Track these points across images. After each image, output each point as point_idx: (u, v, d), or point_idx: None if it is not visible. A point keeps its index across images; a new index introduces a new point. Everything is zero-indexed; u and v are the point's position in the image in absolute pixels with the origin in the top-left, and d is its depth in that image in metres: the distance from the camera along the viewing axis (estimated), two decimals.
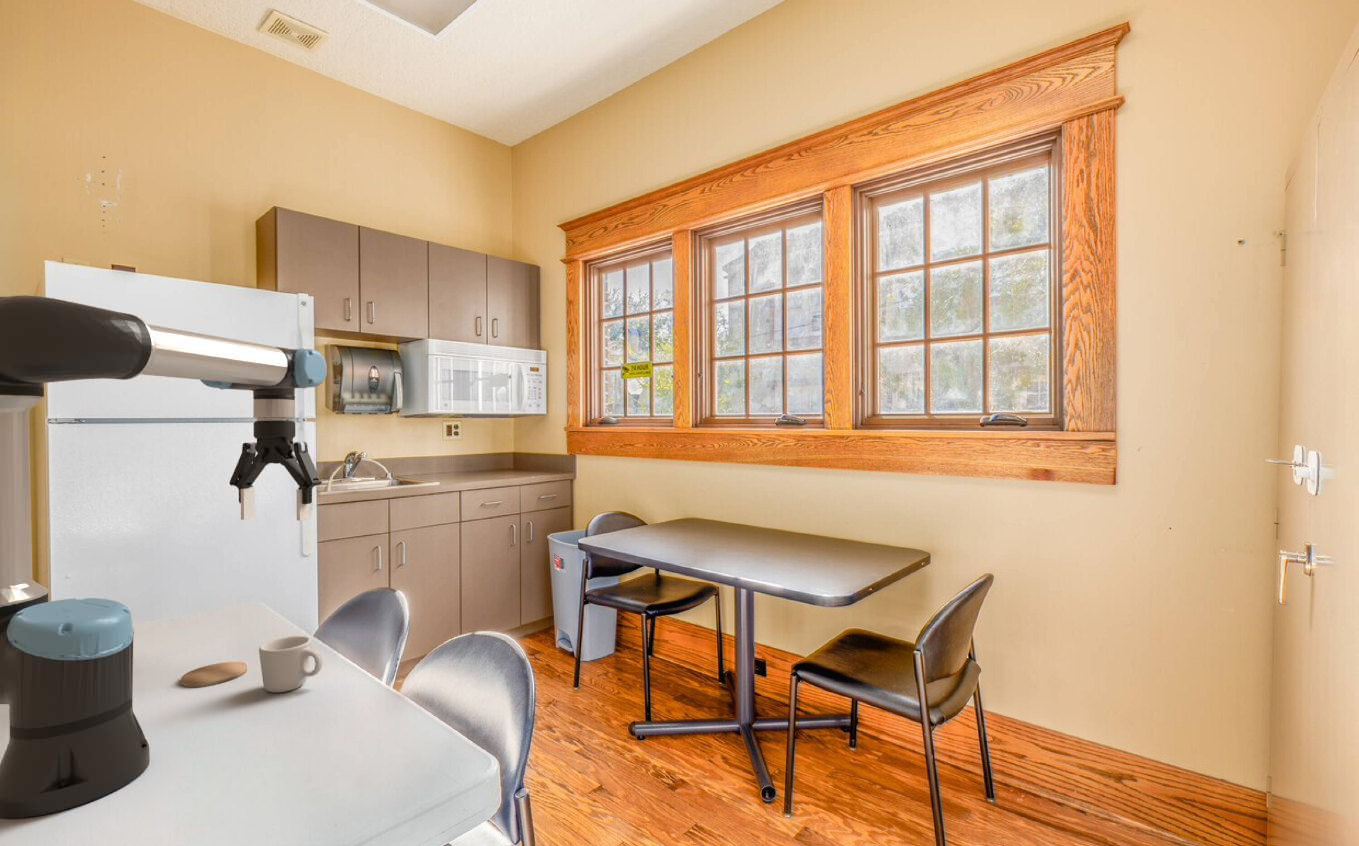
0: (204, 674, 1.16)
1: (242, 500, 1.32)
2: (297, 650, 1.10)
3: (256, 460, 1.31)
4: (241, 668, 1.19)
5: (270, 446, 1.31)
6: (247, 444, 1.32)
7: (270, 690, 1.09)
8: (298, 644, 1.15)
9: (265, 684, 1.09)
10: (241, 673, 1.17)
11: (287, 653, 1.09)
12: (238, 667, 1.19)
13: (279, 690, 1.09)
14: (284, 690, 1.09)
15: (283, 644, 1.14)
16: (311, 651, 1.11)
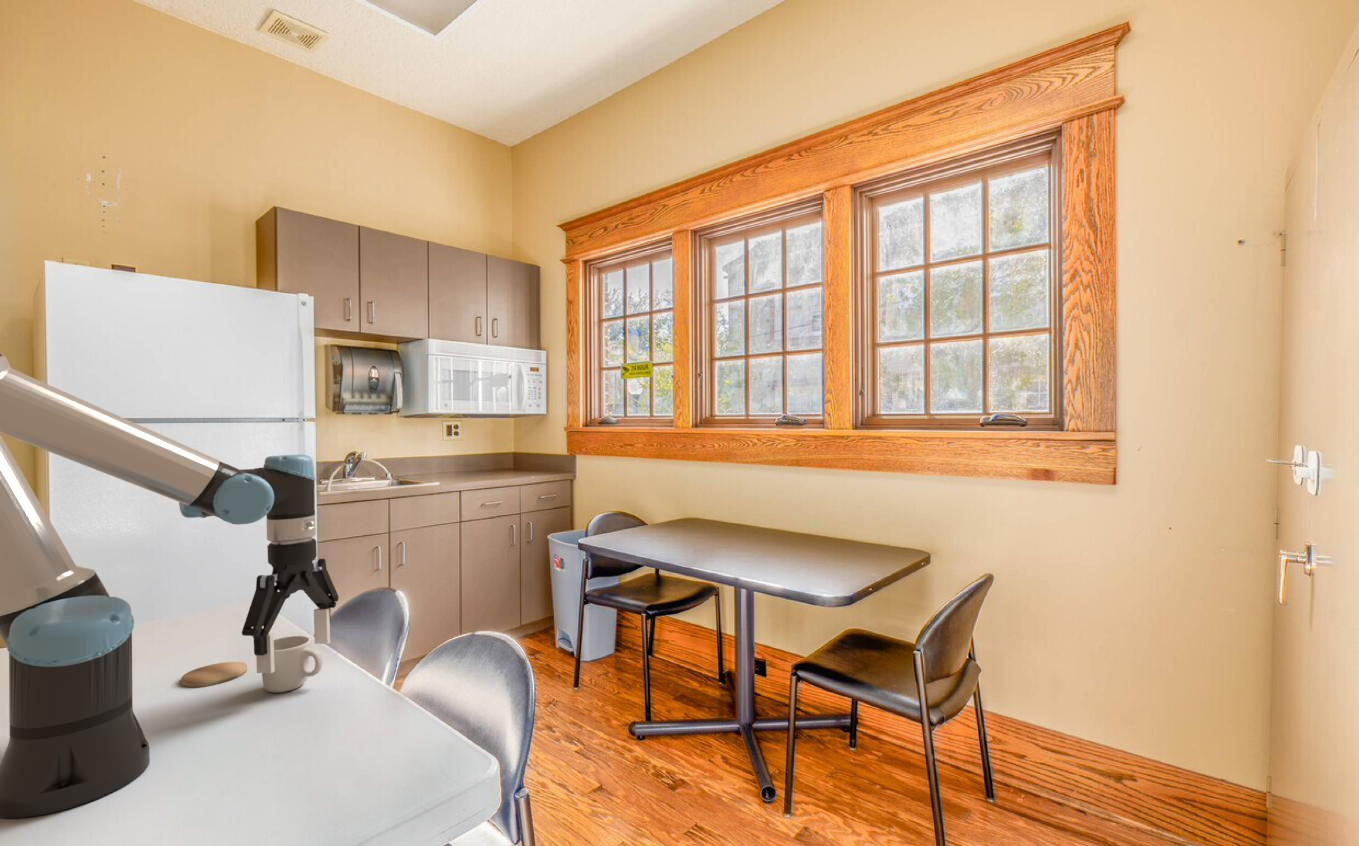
0: (204, 674, 1.16)
1: None
2: (297, 650, 1.10)
3: None
4: (241, 668, 1.19)
5: None
6: None
7: (270, 690, 1.09)
8: (298, 644, 1.15)
9: (265, 684, 1.09)
10: (241, 673, 1.17)
11: (287, 653, 1.09)
12: (238, 667, 1.19)
13: (279, 690, 1.09)
14: (284, 690, 1.09)
15: (283, 644, 1.14)
16: (311, 651, 1.11)
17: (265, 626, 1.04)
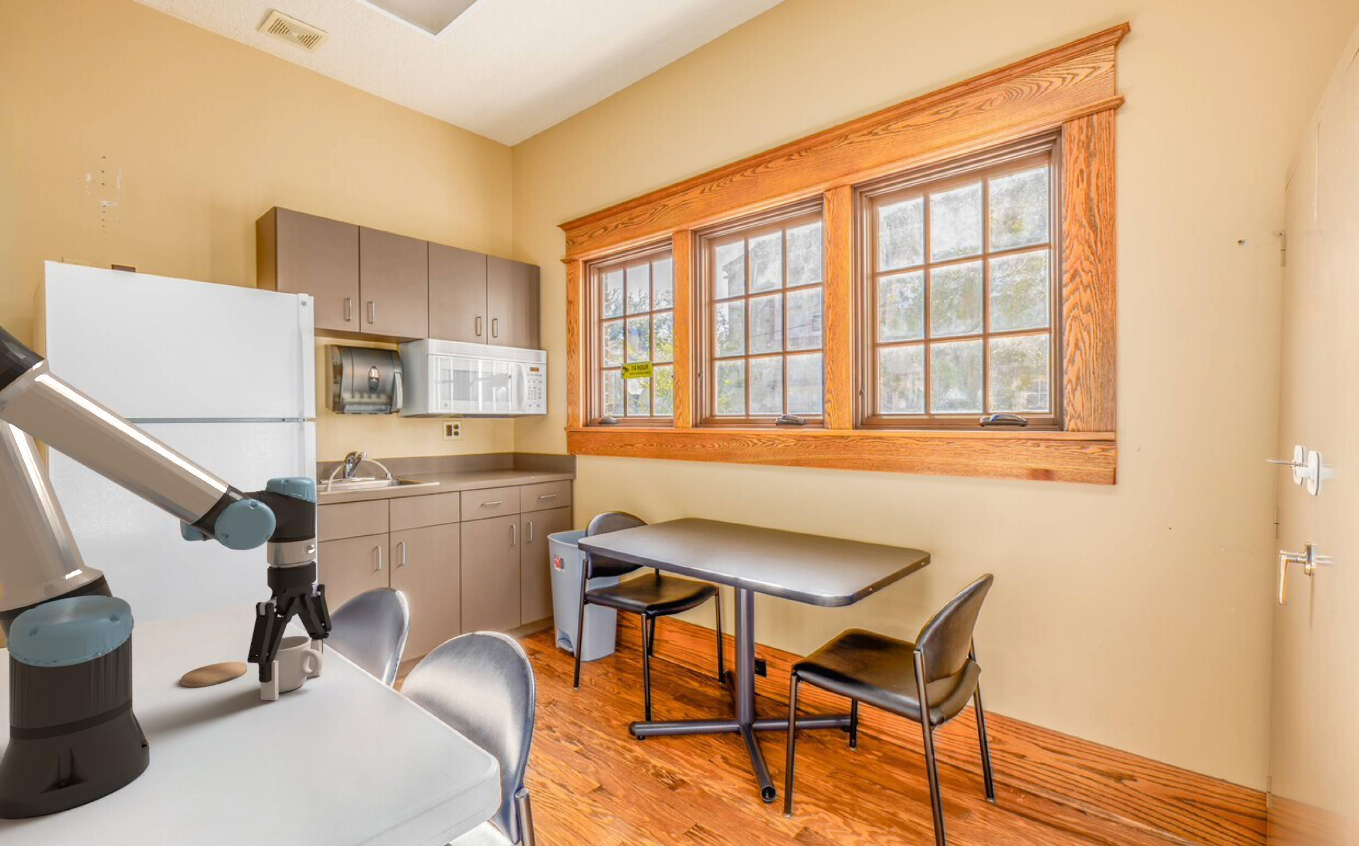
0: (204, 674, 1.16)
1: None
2: (297, 650, 1.10)
3: None
4: (241, 668, 1.19)
5: None
6: None
7: None
8: (298, 644, 1.15)
9: None
10: (241, 673, 1.17)
11: (287, 653, 1.09)
12: (238, 667, 1.19)
13: (279, 690, 1.09)
14: (284, 690, 1.09)
15: (283, 644, 1.14)
16: (311, 651, 1.11)
17: (270, 654, 1.05)
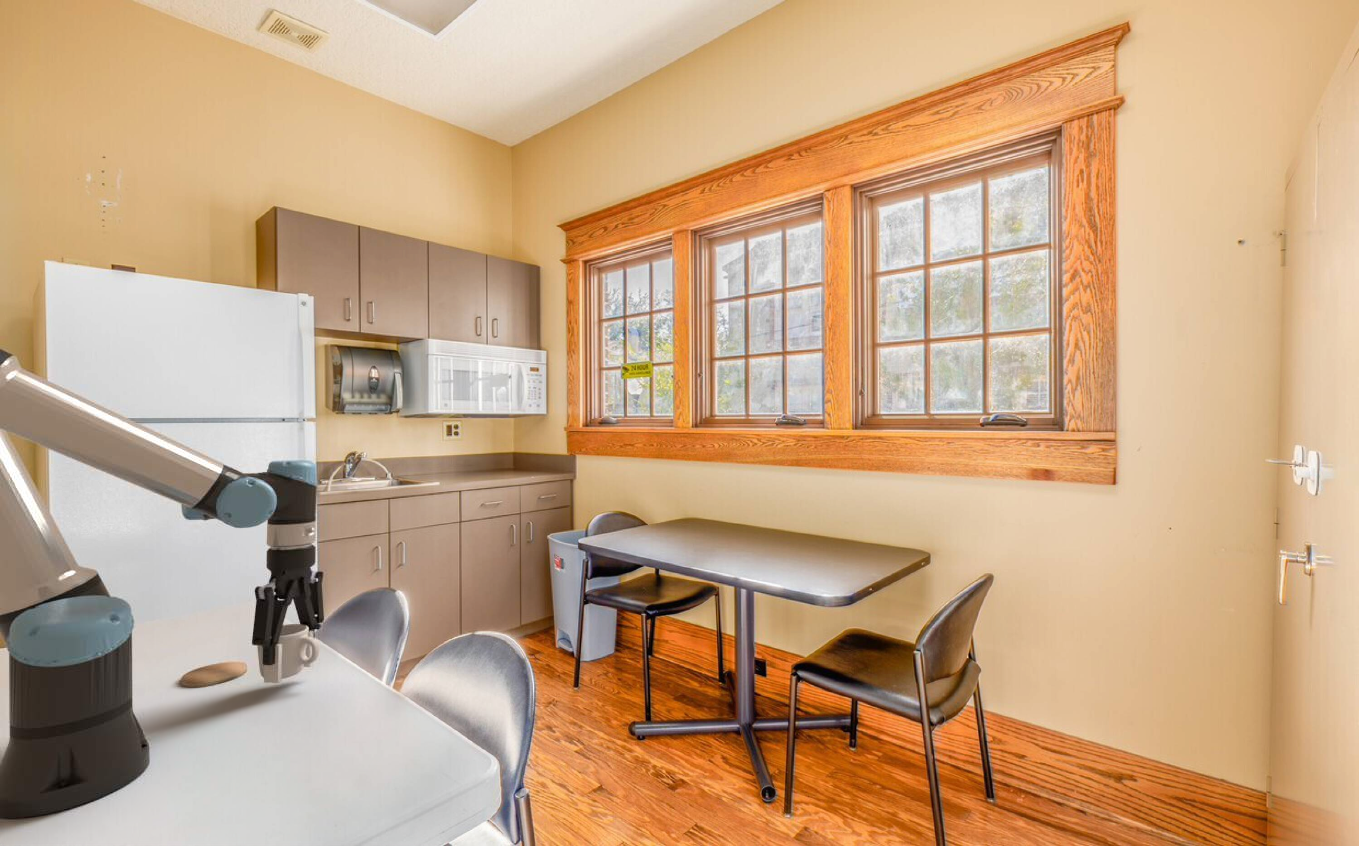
0: (204, 674, 1.16)
1: None
2: (294, 638, 1.09)
3: None
4: (241, 668, 1.19)
5: None
6: None
7: None
8: (296, 632, 1.15)
9: (261, 671, 1.08)
10: (241, 673, 1.17)
11: (284, 640, 1.08)
12: (238, 667, 1.19)
13: None
14: None
15: (281, 632, 1.14)
16: (308, 639, 1.10)
17: (273, 638, 1.06)
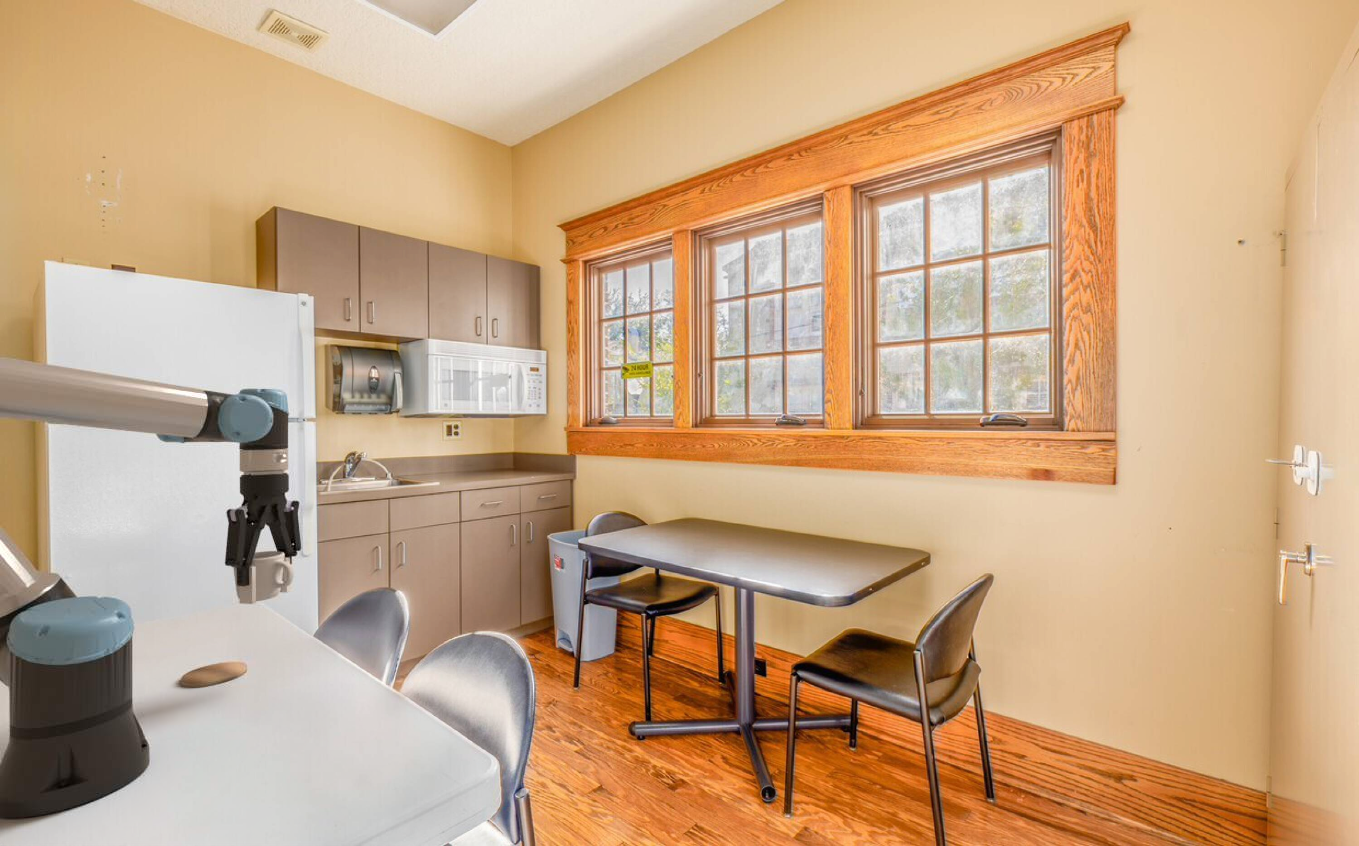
0: (204, 674, 1.16)
1: None
2: (269, 561, 1.12)
3: None
4: (241, 668, 1.19)
5: None
6: None
7: None
8: None
9: (238, 593, 1.11)
10: (241, 673, 1.17)
11: (258, 563, 1.11)
12: (238, 667, 1.19)
13: None
14: (256, 599, 1.11)
15: (258, 558, 1.16)
16: (283, 563, 1.13)
17: (246, 559, 1.09)
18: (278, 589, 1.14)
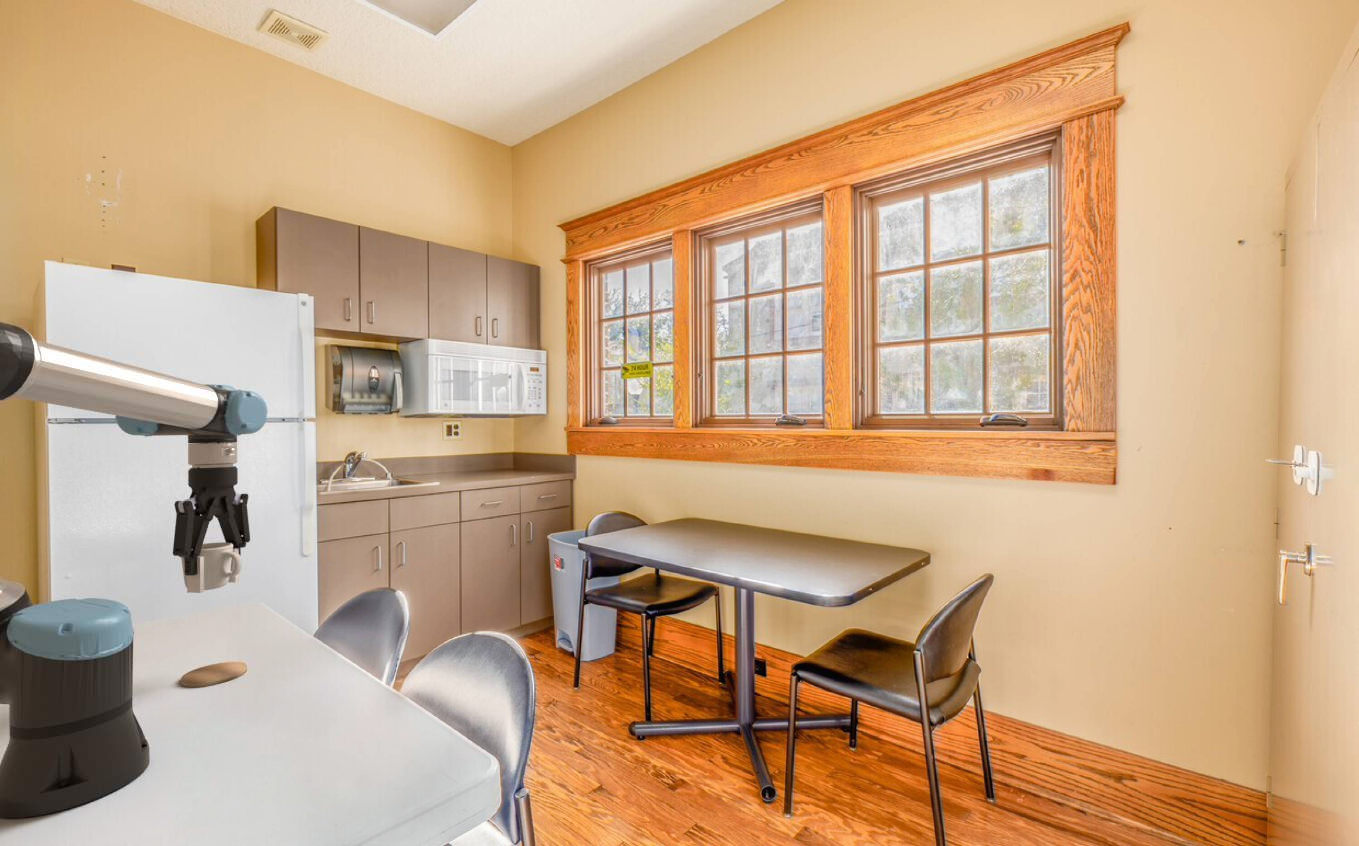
0: (204, 674, 1.16)
1: None
2: (217, 551, 1.15)
3: None
4: (241, 668, 1.19)
5: None
6: None
7: None
8: None
9: (186, 582, 1.14)
10: (241, 673, 1.17)
11: (206, 553, 1.14)
12: (238, 667, 1.19)
13: None
14: (204, 588, 1.15)
15: (207, 549, 1.20)
16: (231, 553, 1.16)
17: (194, 549, 1.12)
18: (226, 579, 1.18)
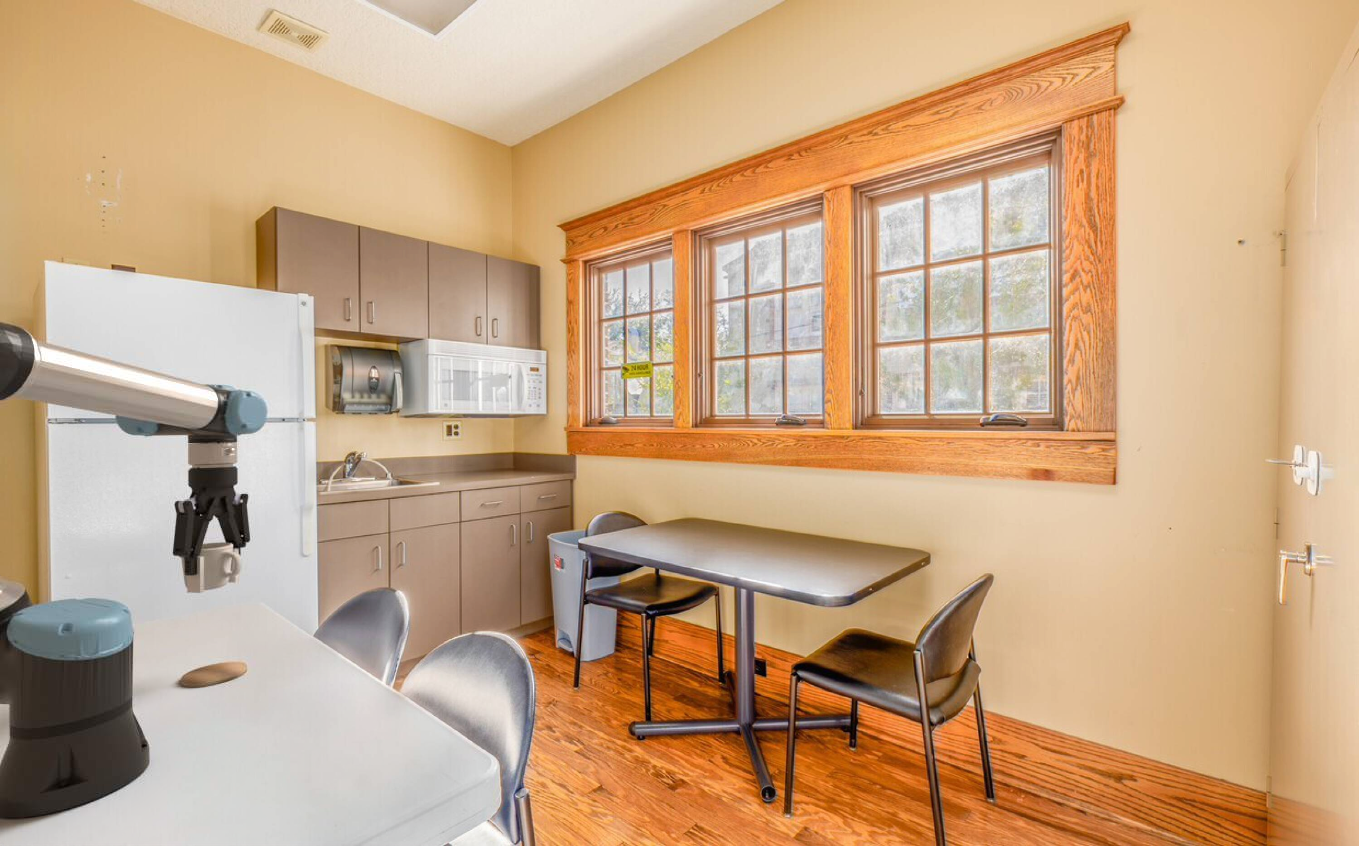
0: (204, 674, 1.16)
1: None
2: (217, 551, 1.15)
3: None
4: (241, 668, 1.19)
5: None
6: None
7: None
8: None
9: (186, 582, 1.14)
10: (241, 673, 1.17)
11: (206, 553, 1.14)
12: (238, 667, 1.19)
13: None
14: (204, 588, 1.15)
15: (207, 549, 1.20)
16: (231, 553, 1.16)
17: (194, 549, 1.12)
18: (226, 579, 1.18)
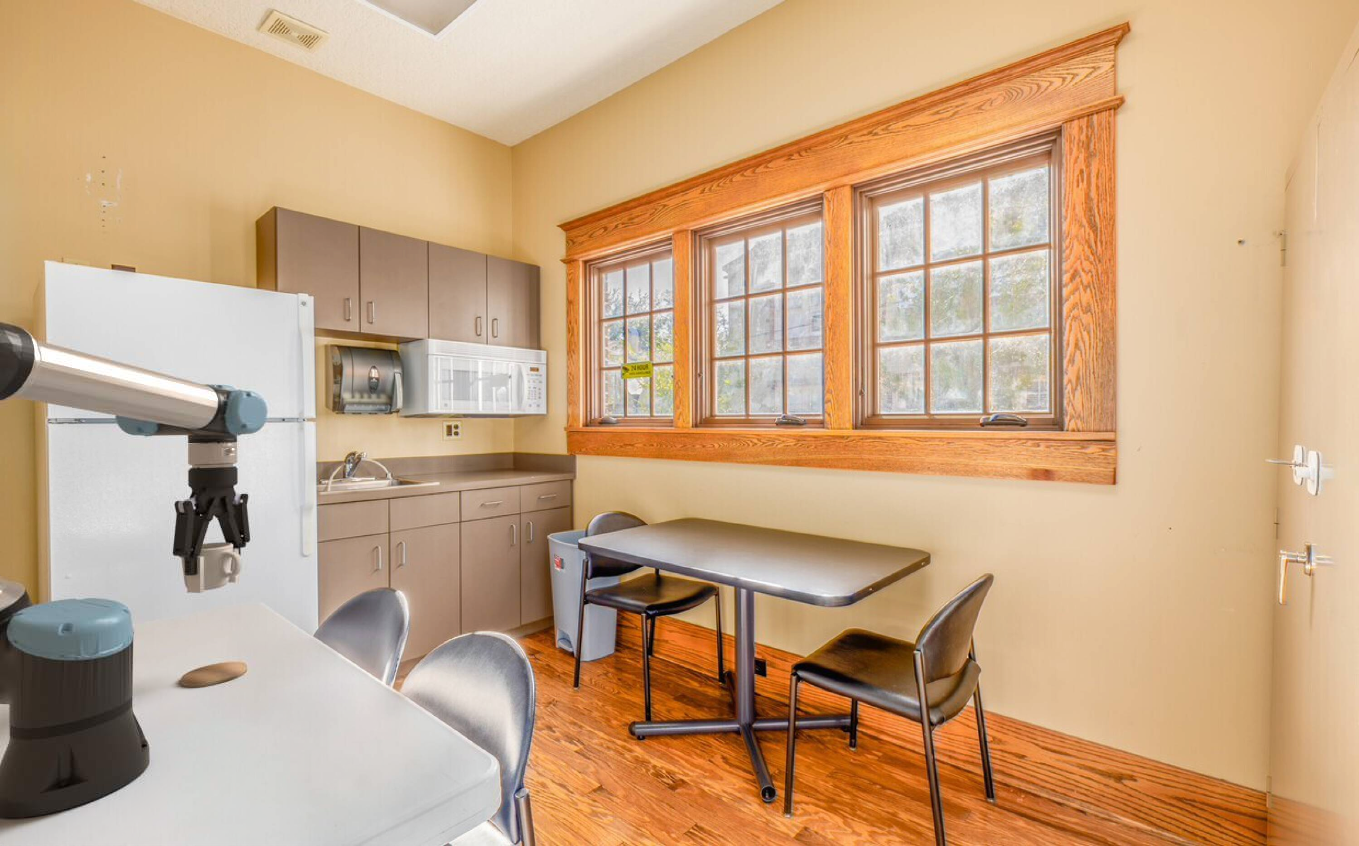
0: (204, 674, 1.16)
1: None
2: (217, 551, 1.15)
3: None
4: (241, 668, 1.19)
5: None
6: None
7: None
8: None
9: (186, 582, 1.14)
10: (241, 673, 1.17)
11: (206, 553, 1.14)
12: (238, 667, 1.19)
13: None
14: (204, 588, 1.15)
15: (207, 549, 1.20)
16: (231, 553, 1.16)
17: (194, 549, 1.12)
18: (226, 579, 1.18)
